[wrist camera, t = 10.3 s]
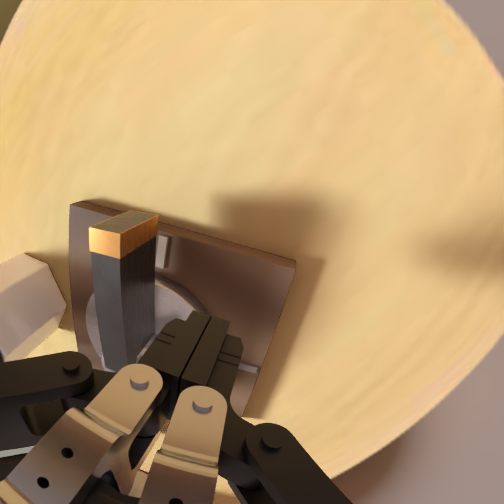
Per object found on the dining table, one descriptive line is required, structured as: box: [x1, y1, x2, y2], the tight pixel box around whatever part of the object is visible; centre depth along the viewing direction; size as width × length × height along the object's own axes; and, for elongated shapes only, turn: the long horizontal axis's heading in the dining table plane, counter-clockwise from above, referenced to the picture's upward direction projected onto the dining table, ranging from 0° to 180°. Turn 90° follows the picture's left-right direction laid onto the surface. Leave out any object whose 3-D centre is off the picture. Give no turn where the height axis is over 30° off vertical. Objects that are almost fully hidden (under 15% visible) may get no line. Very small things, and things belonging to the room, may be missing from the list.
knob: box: [86, 210, 210, 372], centre depth 17 cm, size 16×11×6 cm
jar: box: [0, 253, 67, 362], centre depth 18 cm, size 9×8×12 cm
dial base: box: [69, 201, 296, 417], centre depth 21 cm, size 17×17×2 cm
